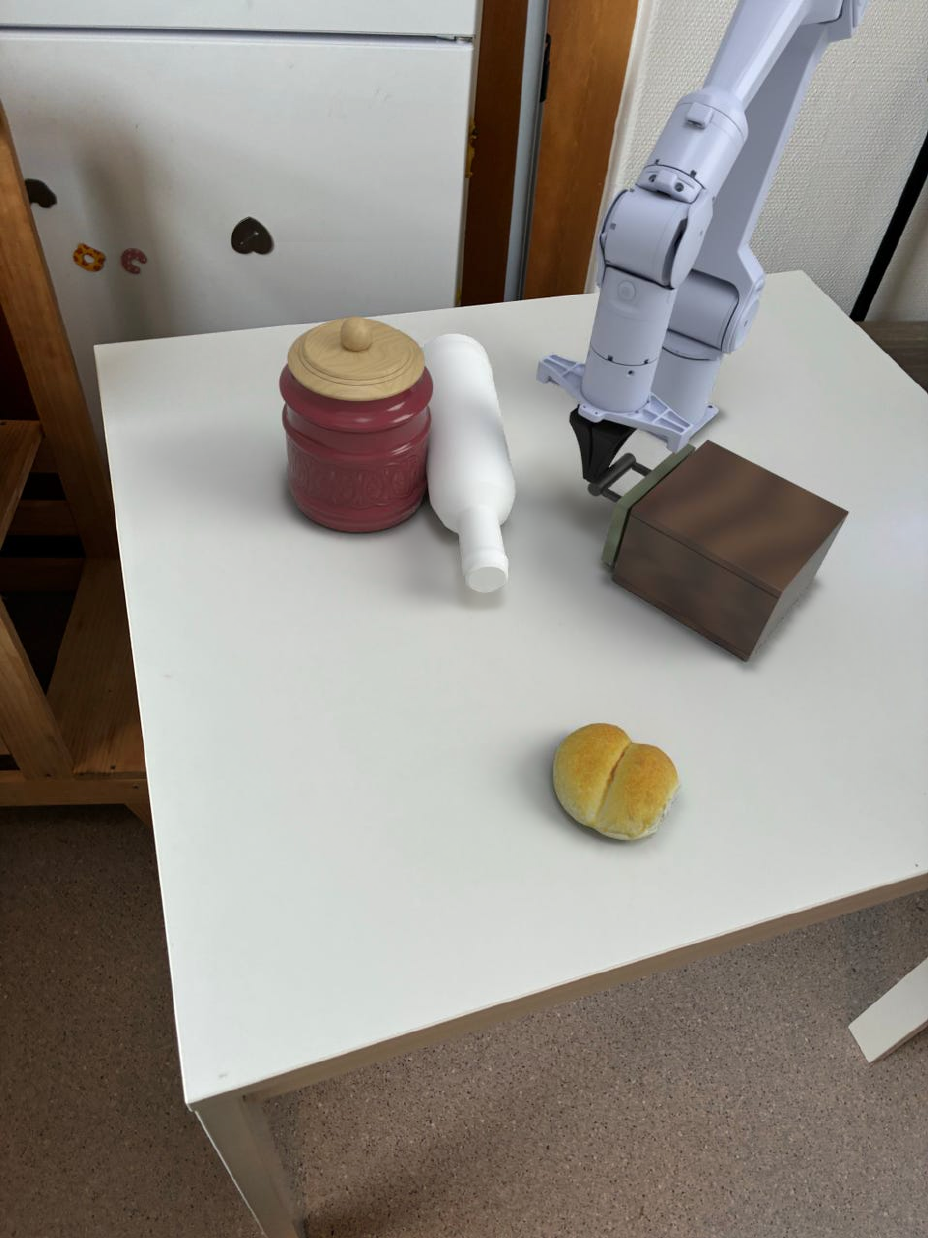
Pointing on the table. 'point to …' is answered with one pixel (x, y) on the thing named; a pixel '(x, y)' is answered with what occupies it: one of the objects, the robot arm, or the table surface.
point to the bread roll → (614, 782)
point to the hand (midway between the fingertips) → (594, 476)
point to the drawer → (630, 493)
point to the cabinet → (726, 546)
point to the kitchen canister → (356, 424)
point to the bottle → (469, 457)
